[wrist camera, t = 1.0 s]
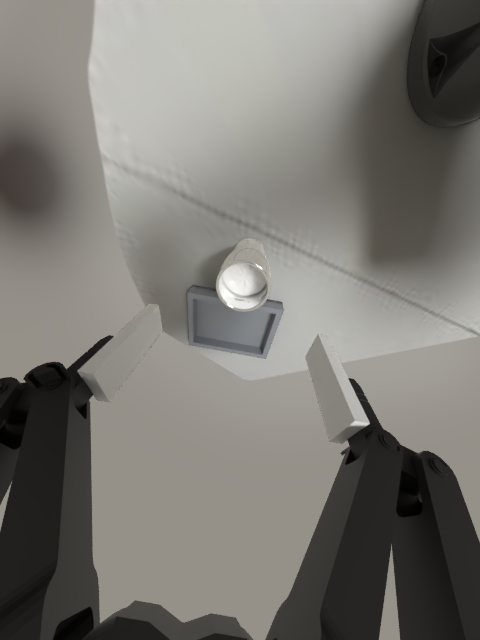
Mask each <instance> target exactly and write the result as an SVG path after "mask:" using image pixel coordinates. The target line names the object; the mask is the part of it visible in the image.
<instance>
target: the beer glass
mask: <svg viewBox="0 0 480 640" xmlns="http://www.w3.org/2000/svg"><path fill="white" fill-rule="evenodd" d="M270 284H271V272H270V267H269V263H268V261H267V259H266V257H265V249H264V247H263V245H262V244H261V243H260V242H259V241H258V240H256V239H253V238H246V239H243V240H241V241H240V242H239V243H238V244H237V245H236V246H235V249H234V251H233V252H231V253H230V254H229V255H228V256H227V258H226V259H225V260H224V262H223V264H222V266H221V268H220V271H219V274H218V277H217V280H216V291H217V294H218V296H219V298H220V300H221V301H222V302H223V303H224V304H225V305H226V306H228V307H229V308H231V309H233V310H236V311H243V312H246V311H252V310H255V309H257V308H259V307H260V306H262V305H263V304H264V303H265V302H266V300H267V298H268V297H269V294H270V289H271V285H270Z"/></svg>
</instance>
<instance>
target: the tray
mask: <svg viewBox="0 0 480 640" xmlns="http://www.w3.org/2000/svg"><path fill="white" fill-rule="evenodd" d="M187 300H188V333H189V345H192V346H198V347H203V348H209V349H214V350H220V351H225V352H231V353H236V354H242V355H247V356H253V357H258V358H264V359H266V357H267V354H268V352H269V349H270V346H271V344H272V341H273V338H274V336H275V333H276V330H277V327H278V325H279V322H280V319H281V317H282V314H283V311H284V309H283V304H282V302H279V301H274V300H268V299H267V300H266V302H265V303H264V304H263V305H262V306H260V307H259V308H257V309H255V310H252V311H246V312H243V311H236V310H233V309H231V308H229V307H228V306H226V305H225V304H224V303H223V302H222V301H221V300H220V298H219V296H218V294H217V291H216V290H215V289H210V288H204V287H199V286H194V285H193V286H192V287H191V288H190V290H189V291H188V292H187Z"/></svg>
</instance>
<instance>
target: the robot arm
mask: <svg viewBox="0 0 480 640" xmlns="http://www.w3.org/2000/svg"><path fill="white" fill-rule="evenodd" d="M407 82H408V92H409V97H410V100H411V103H412V106H413V108H414V110H415V112H416V113H417V114H418V116H419V117H420V118H421V119H422V120H424V121H425V122H427V123H429V124H431V125H434V126H439V127H452V126H458V125H462V124H465V123H468V122H470V121H473V120H476V119H478V118H480V0H425V2H424V5H423V7H422V10H421V13H420V16H419V19H418V22H417V25H416V28H415V32H414V35H413V39H412V44H411V48H410V54H409V61H408V72H407ZM162 332H163V328H162V322H161V316H160V309H159V305H156V304H150V303H149V304H148V305H147V306H146V307H145V308H144V309H143V310H142V311H141V312H140V313H139V314H138V315H137V316H136V317H134V318H133V319H132V320H131V321H130V322H129V323H128V324H127V325H126V326H125V327H124V328H123V329H122V330H120V331H119V332H118V333H117V334H116V335H115V336H107V337H105V338H103V339H101V340H100V341H98V342H97V343H96V344H95V345H94V346H93V347H92V348H90V349H89V350H88V352H86V353H85V354H84V355H82V356H81V357H80V358H79V359H78V360H77V361H76V362H74V363H73V364H72V365H71V366H70V367H69V368H68V369H66V368H65V367H64V366H63V364H61V363H59V362H50V363H45V364H43V365H40V366H38V367H36V368H34V369H32V370H31V371H30V372H29V373H27V374H26V376H25V377H24V380H25V381H26V383H20V382H19V381H18V380H17V379H15V378H12V377H8V378H2V379H0V504H1V502H2V500H3V498H4V496H5V494H6V492H7V490H8V488H9V486H10V484H11V482H12V484H11V489H10V493H9V497H8V501H7V506H6V510H5V515H4V518H3V522H2V527H1V531H0V640H253V639H252V638H251V636H250V635H249V634H248V633H247V632H246V631H245V630H244V629H243V628H242V627H241V626H240V625H239V623H238V621H237V619H236V618H233V617H227V616H222V615H217V614H209V615H206V616H203V617H200V618H197V619H194V620H191V621H189V622H185V623H183V622H181V621H179V620H178V619H177V618H176V617H174V616H173V615H172V614H171V613H169V612H168V611H167V610H166V609H164V608H163V607H162V606H161V605H157V604H152V603H146V602H140V601H134V602H133V603H132V604H131V605H130V606H128V607H127V608H123V609H121V610H120V611H118V612H116V613H114V614H112V615H111V616H110V617H108V618H107V619H106V620H104V621H103V622H102V623H100V617H99V586H98V577H97V572H96V570H95V568H94V565H93V557H92V501H91V500H92V495H91V436H90V435H91V434H90V433H91V431H90V402H89V399H90V398H91V397H92V396H93V395H94V397H95V398H96V400H99V401H105V402H110V401H111V400H112V399H113V397H114V396H115V394H116V393H117V392H118V391H119V389H120V388H121V387H122V385H123V384H124V383H125V381H126V380H127V379H128V377H129V376H130V374H131V373H132V372H133V370H134V369H135V368H136V366H137V365H138V364H139V362H140V361H141V360H142V358H143V357H144V356H145V354H146V353H147V351H148V350H149V349H150V348H151V346H152V345H153V344H154V342H155V341H156V339H157V338H158V337H159V335H160V334H161V333H162ZM305 357H306V361H307V364H308V368H309V371H310V375H311V378H312V382H313V386H314V389H315V393H316V396H317V399H318V403H319V407H320V410H321V414H322V417H323V421H324V424H325V428H326V432H327V435H328V439H329V442H335V443H341V444H342V443H344V442H345V441H346V440H348V442H349V445H350V446H349V447H348V448H346V449H345V450H343V451H342V452H341V454H342V455H343V454H345V456H344V459H343V461H342V463H341V466H340V468H339V471H338V474H337V476H336V478H335V481H334V484H333V486H332V489H331V492H330V494H329V496H328V499H327V501H326V504H325V506H324V509H323V511H322V514H321V517H320V519H319V522H318V524H317V527H316V529H315V532H314V534H313V537H312V539H311V542H310V544H309V547H308V549H307V552H306V554H305V557H304V559H303V562H302V564H301V567H300V570H299V572H298V574H297V577H296V579H295V582H294V585H293V587H292V590H291V592H290V594H289V596H288V598H287V599H286V600H285V601H284V602H283V604H282V605H281V607H280V608H279V610H278V611H277V614H276V616H275V618H274V620H273V623H272V625H271V628H270V630H269V633H268V635H267V638H266V640H379V632H380V626H381V618H382V610H383V603H384V596H385V588H386V581H387V573H388V566H389V557H390V551H391V543H392V551H393V562H394V573H395V585H396V596H397V607H398V618H399V629H400V640H480V542H479V539H478V537H477V535H476V531H475V528H474V526H473V523H472V520H471V517H470V515H469V512H468V509H467V506H466V503H465V501H464V498H463V495H462V492H461V489H460V487H459V484H458V481H457V479H456V476H455V475H454V473H453V471H452V470H451V469H450V467H449V466H448V465H447V464H446V463H445V462H444V461H443V460H442V459H441V458H440V457H438V456H437V455H435V454H434V453H431V452H429V451H422V452H420V453H416V452H414V451H412V450H410V449H408V448H406V447H404V446H402V445H400V444H399V442H398V441H397V440H396V438H395V437H394V436H393V435H391V434H390V433H389V432H387V431H386V430H383V428H382V426H381V425H380V423H379V421H378V419H377V417H376V415H375V414H374V411H373V410H372V408H371V406H370V404H369V403H368V400H367V398H366V397H365V396H364V393H363V391H362V389H361V387H360V386H359V385H358V383H356V381H355V380H354V379H351V378H348V377H347V375H346V373H345V371H344V369H343V367H342V365H341V363H340V361H339V359H338V357H337V355H336V353H335V350H334V348H333V346H332V344H331V342H330V340H329V338H328V336H326V335H320V334H318V335H317V337H316V339H315V340H314V342H313V344H312V346H311V348H310V349H309V351H308V353H307V355H306V356H305Z"/></svg>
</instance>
